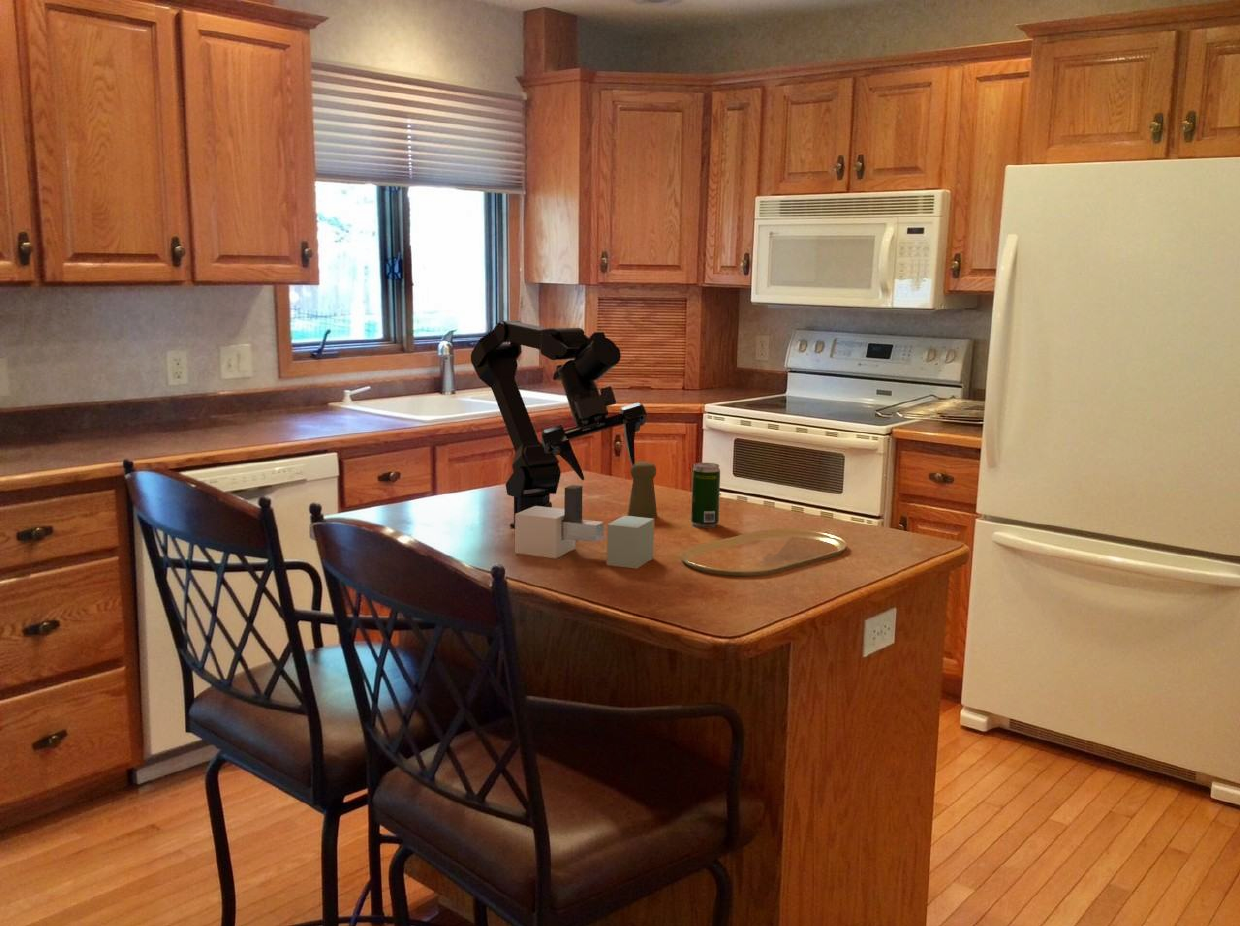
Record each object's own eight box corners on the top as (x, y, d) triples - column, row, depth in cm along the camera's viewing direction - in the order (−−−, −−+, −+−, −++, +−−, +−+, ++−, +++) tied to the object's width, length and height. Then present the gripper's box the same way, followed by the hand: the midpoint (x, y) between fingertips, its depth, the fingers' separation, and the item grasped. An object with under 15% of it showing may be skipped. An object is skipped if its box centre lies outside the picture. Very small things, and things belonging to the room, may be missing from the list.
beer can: (723, 526, 212) (725, 466, 210) (699, 528, 210) (701, 468, 207) (709, 520, 217) (711, 461, 215) (686, 523, 214) (687, 463, 212)
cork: (654, 519, 217) (655, 465, 215) (625, 518, 218) (625, 464, 216) (659, 513, 223) (660, 460, 221) (630, 511, 224) (631, 459, 222)
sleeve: (515, 553, 189) (515, 514, 188) (535, 543, 196) (535, 505, 195) (556, 558, 186) (556, 518, 185) (575, 548, 193) (575, 510, 192)
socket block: (606, 564, 183) (607, 524, 181) (624, 554, 190) (624, 515, 188) (636, 568, 181) (637, 527, 179) (653, 558, 187) (654, 518, 186)
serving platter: (658, 563, 186) (658, 554, 186) (784, 532, 210) (785, 524, 210) (742, 586, 173) (742, 577, 172) (866, 550, 196) (867, 542, 196)
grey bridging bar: (518, 533, 191) (518, 483, 189) (526, 529, 194) (526, 480, 192) (596, 542, 185) (596, 491, 184) (603, 538, 188) (604, 488, 186)
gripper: (529, 390, 184) (556, 475, 180) (634, 360, 186) (662, 443, 182) (532, 412, 195) (557, 492, 191) (630, 383, 197) (657, 462, 193)
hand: (608, 472), depth 189 cm, fingers open, 9 cm apart
